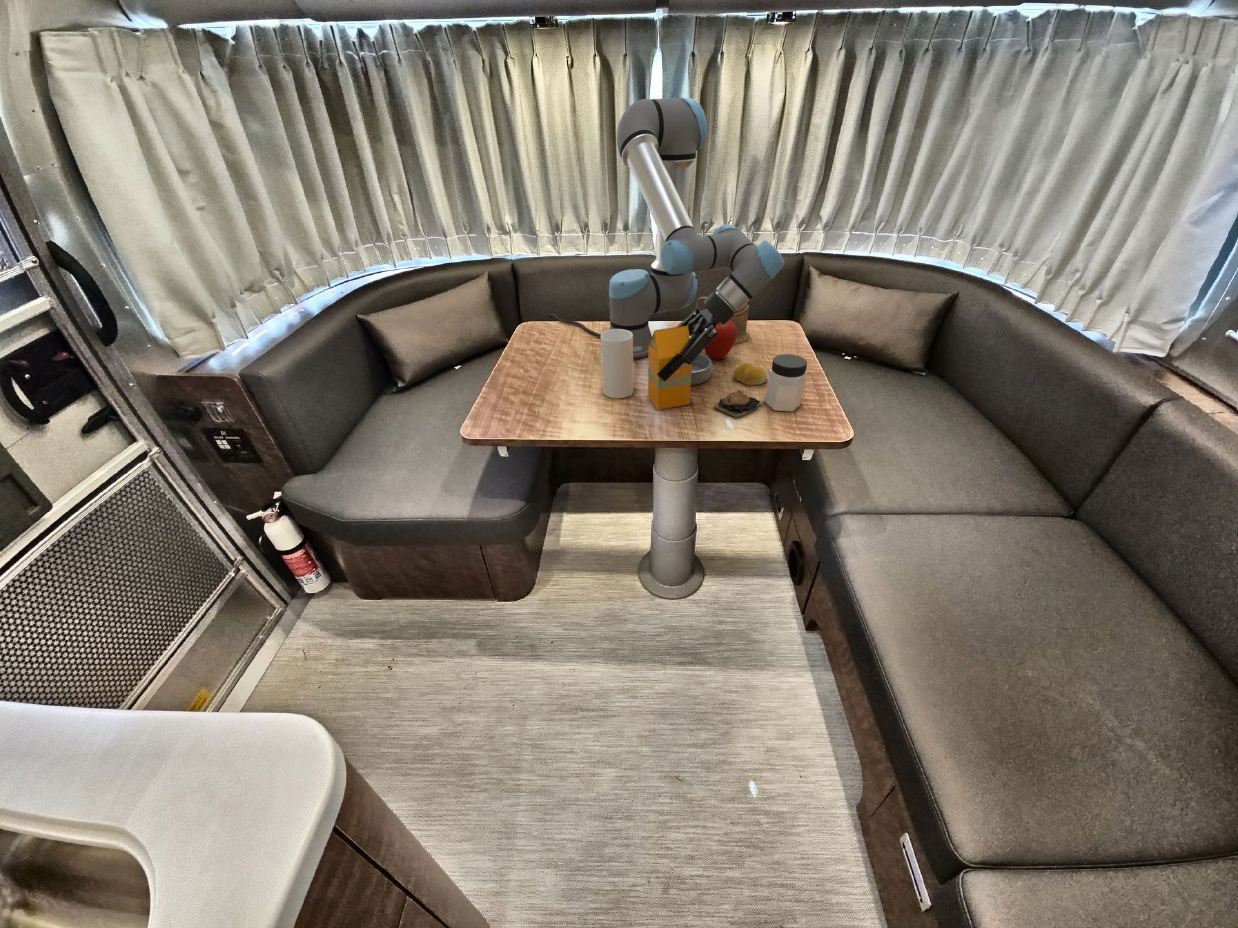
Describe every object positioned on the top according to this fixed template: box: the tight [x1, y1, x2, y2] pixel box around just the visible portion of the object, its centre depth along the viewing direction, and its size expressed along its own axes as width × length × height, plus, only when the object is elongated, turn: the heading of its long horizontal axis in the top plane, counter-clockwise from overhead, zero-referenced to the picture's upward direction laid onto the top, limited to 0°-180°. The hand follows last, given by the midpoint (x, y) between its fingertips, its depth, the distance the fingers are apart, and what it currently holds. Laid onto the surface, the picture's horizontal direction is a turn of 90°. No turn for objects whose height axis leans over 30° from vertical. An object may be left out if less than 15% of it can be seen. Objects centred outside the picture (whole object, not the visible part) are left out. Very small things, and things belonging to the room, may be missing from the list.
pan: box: [691, 353, 713, 386], centre depth 150 cm, size 14×14×4 cm
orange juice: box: [647, 325, 692, 411], centre depth 133 cm, size 8×9×20 cm
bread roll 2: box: [714, 390, 762, 419], centre depth 135 cm, size 11×8×4 cm
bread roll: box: [732, 362, 768, 386], centre depth 147 cm, size 8×9×4 cm
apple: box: [703, 320, 738, 361], centre depth 157 cm, size 11×11×12 cm
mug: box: [695, 296, 750, 345], centre depth 171 cm, size 12×18×12 cm, turn 67°
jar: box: [764, 353, 808, 412], centre depth 133 cm, size 9×8×12 cm
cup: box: [600, 329, 634, 399], centre depth 140 cm, size 8×8×16 cm
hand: (657, 369), depth 133 cm, fingers closed on orange juice, 8 cm apart
